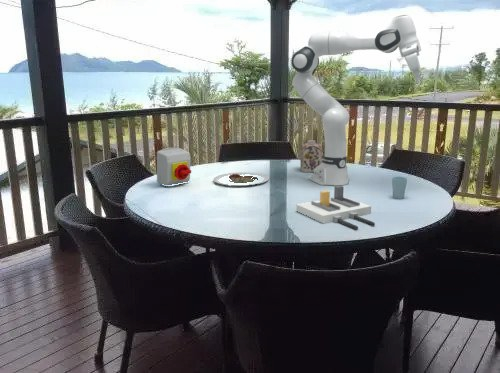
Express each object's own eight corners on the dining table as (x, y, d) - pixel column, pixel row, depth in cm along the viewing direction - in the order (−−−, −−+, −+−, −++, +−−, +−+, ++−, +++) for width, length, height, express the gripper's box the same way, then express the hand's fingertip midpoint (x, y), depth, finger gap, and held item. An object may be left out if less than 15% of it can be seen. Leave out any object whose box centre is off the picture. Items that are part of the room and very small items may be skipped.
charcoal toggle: (334, 200, 177) (334, 186, 176) (340, 199, 179) (340, 185, 177) (337, 201, 176) (337, 187, 174) (343, 200, 177) (343, 186, 176)
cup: (400, 194, 195) (401, 176, 193) (409, 198, 189) (410, 179, 187) (387, 196, 193) (388, 177, 191) (396, 200, 187) (397, 180, 185)
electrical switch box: (171, 193, 215) (171, 156, 208) (156, 184, 225) (156, 149, 218) (195, 188, 224) (196, 152, 217) (180, 180, 234) (180, 145, 227)
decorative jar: (322, 172, 246) (322, 141, 242) (302, 172, 246) (302, 142, 242) (319, 168, 258) (319, 139, 253) (300, 168, 258) (300, 139, 254)
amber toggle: (320, 205, 170) (320, 191, 168) (326, 204, 171) (326, 190, 170) (323, 207, 168) (323, 192, 167) (329, 205, 169) (329, 191, 168)
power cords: (332, 221, 161) (333, 216, 160) (353, 216, 166) (353, 211, 165) (354, 230, 150) (355, 225, 150) (376, 225, 155) (376, 220, 154)
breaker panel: (296, 211, 174) (296, 201, 173) (341, 202, 185) (342, 193, 184) (323, 223, 159) (323, 212, 158) (370, 213, 169) (371, 203, 168)
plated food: (249, 191, 209) (249, 184, 208) (202, 184, 224) (202, 178, 224) (278, 178, 233) (278, 173, 233) (233, 173, 249) (233, 168, 248)
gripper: (405, 53, 203) (412, 81, 204) (401, 52, 185) (410, 82, 186) (418, 48, 200) (426, 77, 202) (416, 46, 182) (425, 77, 183)
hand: (418, 79), depth 194 cm, fingers open, 8 cm apart
